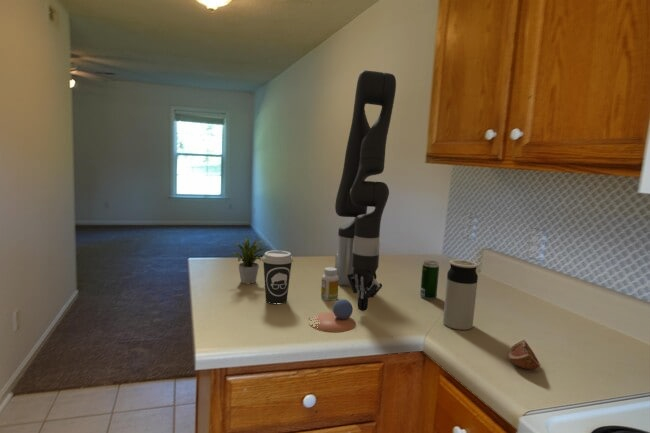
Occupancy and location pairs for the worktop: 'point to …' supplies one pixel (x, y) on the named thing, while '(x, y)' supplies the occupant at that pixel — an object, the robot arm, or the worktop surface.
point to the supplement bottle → (329, 284)
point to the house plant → (249, 261)
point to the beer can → (429, 279)
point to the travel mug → (460, 294)
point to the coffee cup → (277, 275)
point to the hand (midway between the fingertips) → (362, 309)
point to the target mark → (333, 323)
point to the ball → (342, 309)
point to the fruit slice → (523, 355)
